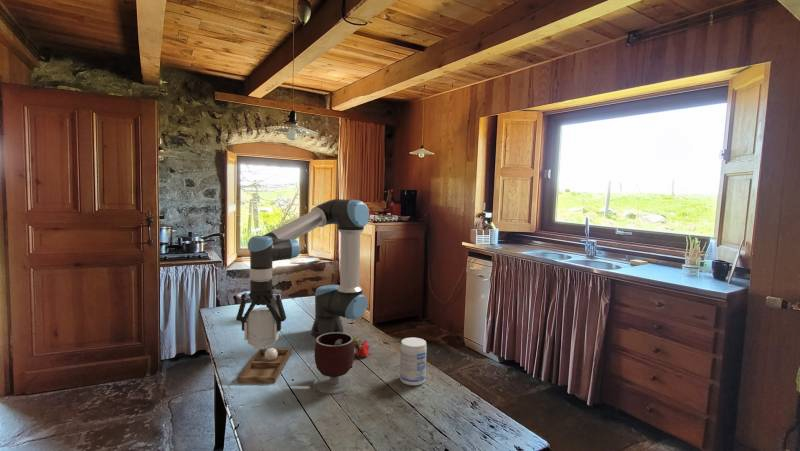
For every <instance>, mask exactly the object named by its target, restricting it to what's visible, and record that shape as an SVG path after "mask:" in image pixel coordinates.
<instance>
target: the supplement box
mask: <svg viewBox="0 0 800 451" xmlns="http://www.w3.org/2000/svg"><path fill="white" fill-rule="evenodd" d="M247 320H248V339H247V344H248V345H249V346H251V347H253V348H254V349H257V350H259V349H264V348H266V347H270V346H273V345H276V341H274V323H275V319H274V317H273V315H272V314H271V312H270V310H269V309H268V308H267V307H266V306H262V307H257V308H253V310H252V311H251V312H250V313H249V315H248V318H247Z"/></svg>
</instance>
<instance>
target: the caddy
mask: <svg viewBox="0 0 800 451" xmlns="http://www.w3.org/2000/svg"><path fill="white" fill-rule="evenodd" d="M267 349H268V348H259V349H257V350H258V351H257V352H256V353H255V355H254V356H253V357H252V358H251V360H249V362H248V363H247V365H245V367H244V368H243V370H242V371H241V372H240V373H239V375H238V376H237V384H275V383H276V382H277V381H278V380H279V377H280V375H281V373H282V372H283V370H284V368H285V366H286V365H287V363H288V361H289V359H290V357H291V355H292V349H291V348H275V349H276V350H277V352H278V355H277V358H276V359H275V360H273V361H268V360H266V358H265V351H266V350H267Z"/></svg>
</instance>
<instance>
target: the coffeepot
mask: <svg viewBox="0 0 800 451" xmlns="http://www.w3.org/2000/svg"><path fill="white" fill-rule="evenodd" d="M272 292H273V294H279V293H280V294H281V295H282V294H283V293H282V289H277V288H275V285H272ZM271 301H272V303H273V305H274V307H275V309H276V311H277V312H278V314H279V310H278V307H277V304H276V300H275V299H274V297H273V298H272V299H271ZM265 307H267V306H266V305H265ZM279 316H280V314H279ZM275 321H276V320H275Z"/></svg>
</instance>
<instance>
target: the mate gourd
mask: <svg viewBox="0 0 800 451" xmlns="http://www.w3.org/2000/svg"><path fill="white" fill-rule="evenodd" d="M351 335H352V334H348V333H346V332H345V333H344V332H343V333H339V332H333V333H326V334H323V335H320V336H319V337H316V339H315V344H314V345H315V346H314V362H315V367H316V369H317V370H318V371H319V372H320V374H321V375H323V376H324V377H322V378H321V379H319V380H318V381H317V382H316V388H317V390H318V392H320V393H323V394H328V395H337V394H342V393H345V392H347V391H349V390H350V389H351V387H352V380H351V379H350V378H348V377H346V376H344V375H346V374H347V373H349V371H350V370H351V368H352V367H353V364H354V360H355V356H354V354H355V348H354V342H353V337H352V336H351Z"/></svg>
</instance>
